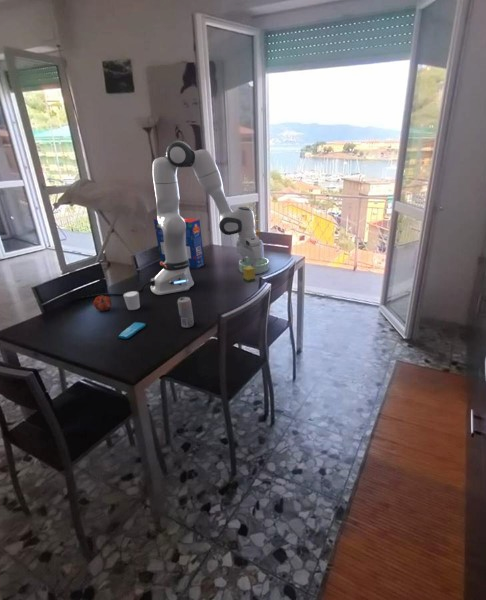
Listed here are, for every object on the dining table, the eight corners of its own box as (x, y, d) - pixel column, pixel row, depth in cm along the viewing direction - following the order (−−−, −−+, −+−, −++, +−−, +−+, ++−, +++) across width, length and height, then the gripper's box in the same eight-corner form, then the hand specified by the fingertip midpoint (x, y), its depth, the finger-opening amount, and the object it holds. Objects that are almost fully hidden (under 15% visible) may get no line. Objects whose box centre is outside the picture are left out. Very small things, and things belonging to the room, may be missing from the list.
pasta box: (204, 264, 220) (199, 219, 208) (196, 268, 214) (191, 222, 202) (169, 259, 232) (162, 216, 220) (161, 263, 225) (153, 219, 213)
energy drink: (188, 320, 153) (185, 295, 148) (196, 324, 150) (193, 298, 145) (178, 325, 149) (174, 299, 144) (186, 329, 146) (182, 303, 141)
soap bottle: (263, 260, 223) (262, 221, 213) (249, 261, 224) (247, 222, 213) (264, 256, 232) (262, 218, 221) (250, 256, 232) (248, 219, 222)
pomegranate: (95, 314, 167) (92, 309, 157) (94, 299, 168) (91, 293, 159) (112, 312, 169) (110, 308, 160) (112, 298, 171) (109, 292, 162)
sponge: (114, 335, 141) (125, 336, 139) (134, 321, 152) (145, 322, 149) (115, 338, 142) (126, 339, 140) (135, 324, 152) (146, 325, 150)
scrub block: (247, 282, 191) (247, 270, 188) (243, 279, 195) (242, 267, 192) (255, 280, 194) (254, 268, 191) (250, 278, 197) (250, 266, 194)
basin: (248, 277, 199) (248, 268, 196) (233, 268, 212) (233, 260, 210) (274, 270, 207) (274, 262, 205) (258, 262, 221) (258, 254, 219)
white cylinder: (125, 311, 163) (122, 297, 160) (126, 305, 169) (123, 292, 166) (141, 309, 165) (138, 295, 162) (141, 303, 171) (139, 290, 168)
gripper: (232, 236, 191) (234, 260, 197) (252, 244, 175) (254, 270, 181) (242, 233, 194) (244, 258, 200) (262, 241, 178) (264, 267, 184)
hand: (249, 263), depth 190 cm, fingers open, 8 cm apart
